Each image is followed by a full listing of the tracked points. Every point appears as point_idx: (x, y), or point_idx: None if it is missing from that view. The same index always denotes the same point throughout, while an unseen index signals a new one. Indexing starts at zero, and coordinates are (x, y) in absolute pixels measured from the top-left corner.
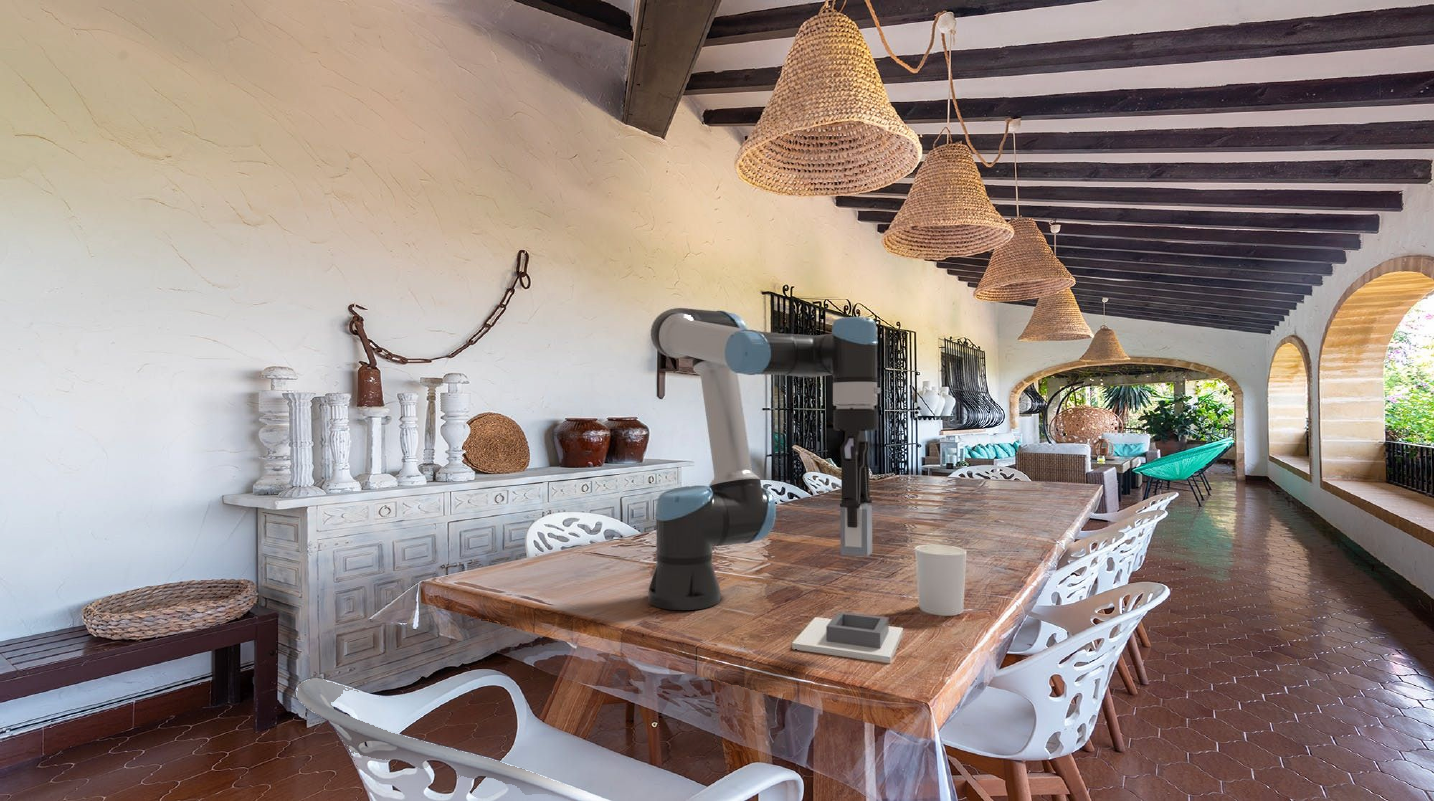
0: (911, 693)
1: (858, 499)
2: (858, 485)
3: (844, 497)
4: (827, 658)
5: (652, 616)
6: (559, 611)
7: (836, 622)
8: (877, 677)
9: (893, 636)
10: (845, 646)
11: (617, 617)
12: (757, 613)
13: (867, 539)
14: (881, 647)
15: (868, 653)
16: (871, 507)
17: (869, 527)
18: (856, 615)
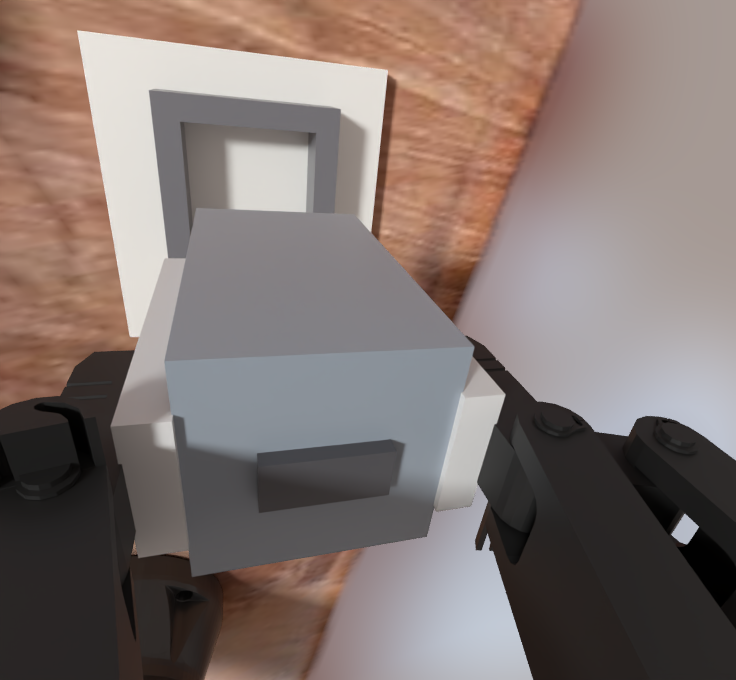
0: (553, 4)
1: (611, 463)
2: (727, 630)
3: (688, 551)
4: (389, 236)
5: (270, 588)
6: (306, 673)
7: None
8: (476, 100)
9: (198, 67)
10: (345, 206)
11: (299, 616)
12: None
13: (374, 243)
14: (320, 103)
15: (377, 137)
16: (197, 347)
17: (307, 267)
18: (185, 211)
